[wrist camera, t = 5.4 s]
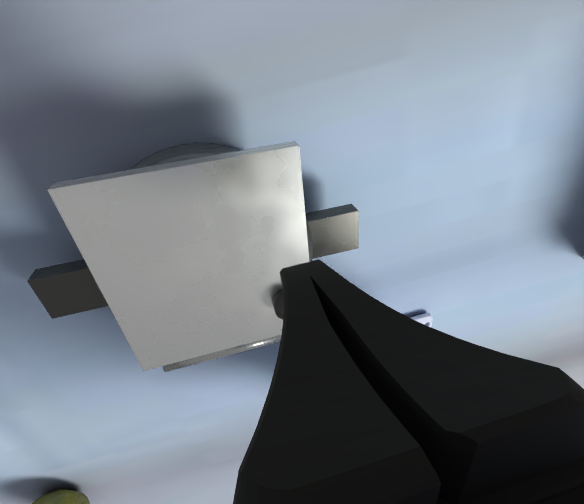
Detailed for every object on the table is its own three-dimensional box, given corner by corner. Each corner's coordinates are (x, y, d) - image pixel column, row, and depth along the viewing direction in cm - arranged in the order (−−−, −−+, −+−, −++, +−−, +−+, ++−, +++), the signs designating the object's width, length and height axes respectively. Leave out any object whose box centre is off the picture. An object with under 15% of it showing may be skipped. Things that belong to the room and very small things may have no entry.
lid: (312, 326, 21) (319, 344, 20) (149, 368, 20) (146, 391, 19) (294, 141, 15) (304, 150, 14) (54, 182, 14) (39, 197, 12)
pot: (342, 292, 25) (359, 320, 22) (106, 350, 22) (95, 390, 20) (337, 119, 18) (361, 130, 16) (3, 174, 16) (-34, 198, 13)
